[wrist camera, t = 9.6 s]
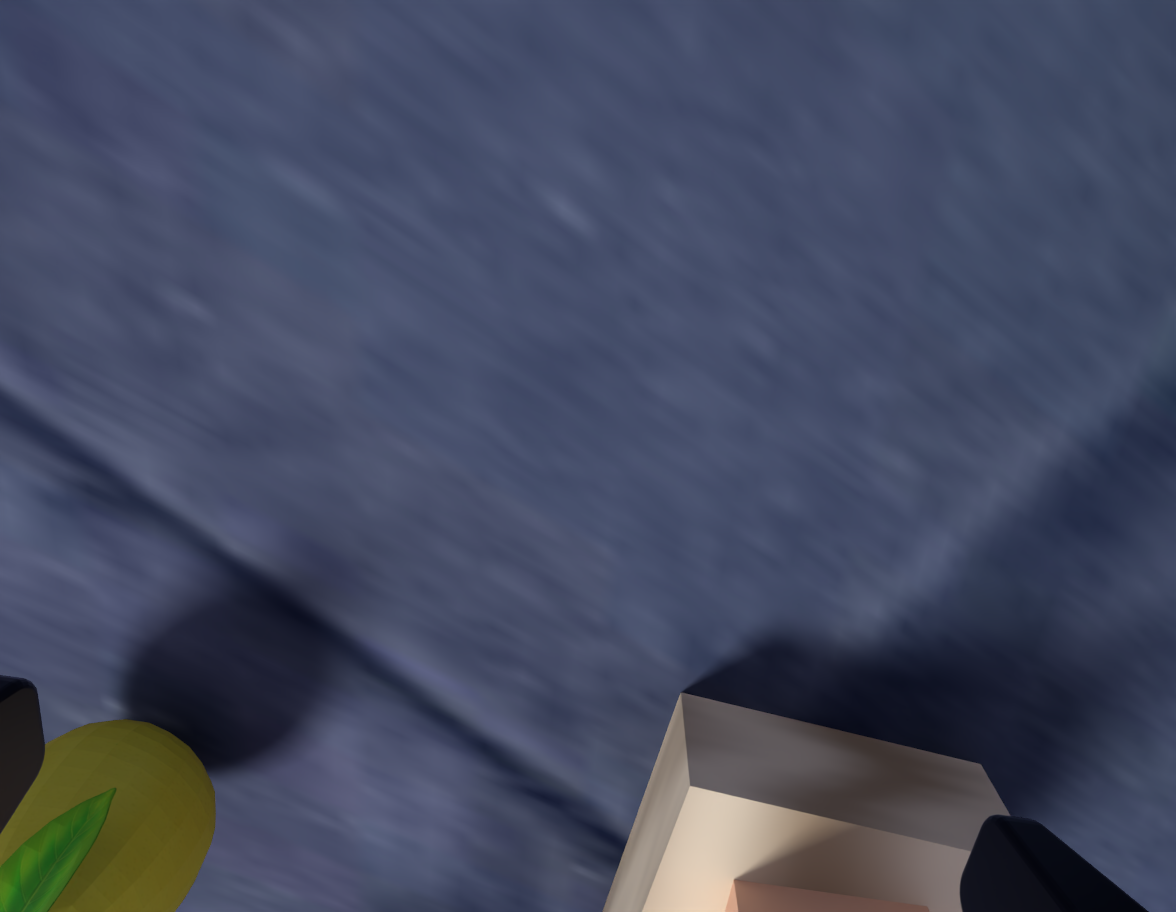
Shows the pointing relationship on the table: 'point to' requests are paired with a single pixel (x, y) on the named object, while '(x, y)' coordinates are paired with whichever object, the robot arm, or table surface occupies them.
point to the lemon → (109, 824)
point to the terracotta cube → (804, 900)
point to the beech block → (797, 815)
